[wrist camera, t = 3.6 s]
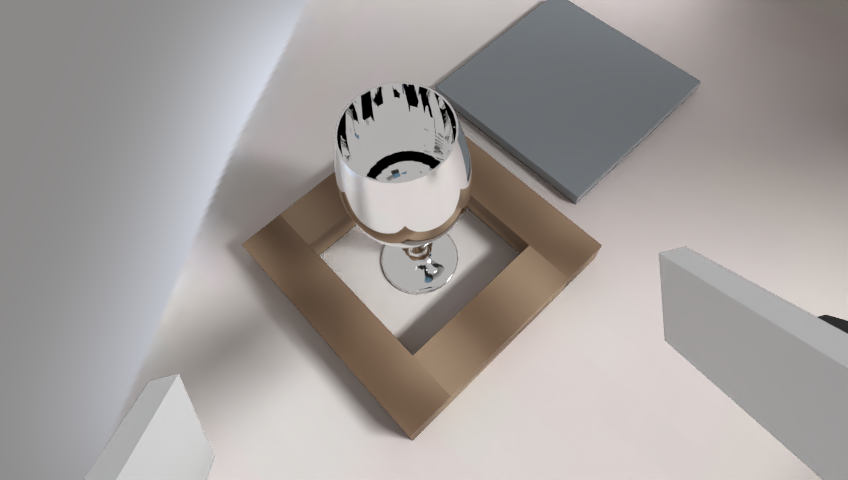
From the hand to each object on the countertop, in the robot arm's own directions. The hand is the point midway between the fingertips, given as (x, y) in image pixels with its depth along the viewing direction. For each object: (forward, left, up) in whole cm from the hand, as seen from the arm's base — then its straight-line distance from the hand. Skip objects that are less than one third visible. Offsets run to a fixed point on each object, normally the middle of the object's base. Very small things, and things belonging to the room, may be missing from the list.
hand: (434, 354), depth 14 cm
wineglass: (-5, -7, -14) cm, 16 cm away
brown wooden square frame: (-5, -7, -14) cm, 16 cm away
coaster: (-20, -9, -14) cm, 26 cm away
